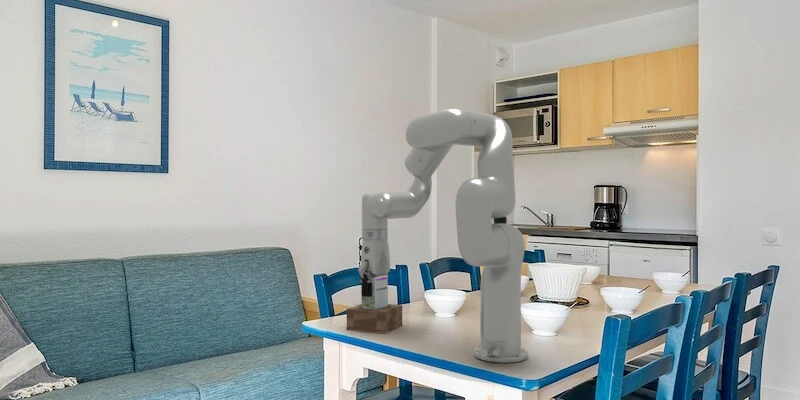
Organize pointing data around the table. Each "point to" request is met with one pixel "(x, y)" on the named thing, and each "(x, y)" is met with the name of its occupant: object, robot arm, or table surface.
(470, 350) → the table surface
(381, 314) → the socket block
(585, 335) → the table surface
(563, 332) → the table surface
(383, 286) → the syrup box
